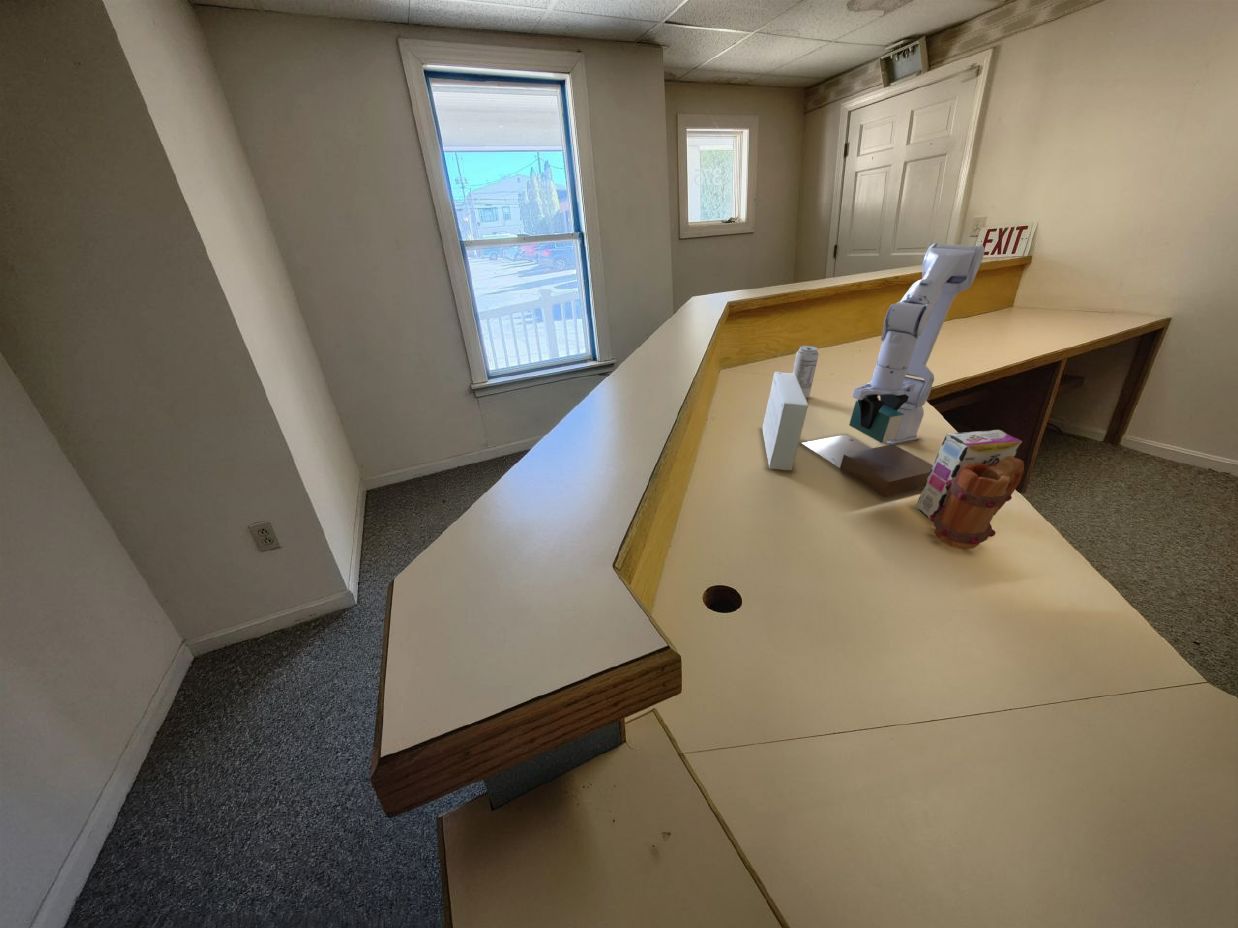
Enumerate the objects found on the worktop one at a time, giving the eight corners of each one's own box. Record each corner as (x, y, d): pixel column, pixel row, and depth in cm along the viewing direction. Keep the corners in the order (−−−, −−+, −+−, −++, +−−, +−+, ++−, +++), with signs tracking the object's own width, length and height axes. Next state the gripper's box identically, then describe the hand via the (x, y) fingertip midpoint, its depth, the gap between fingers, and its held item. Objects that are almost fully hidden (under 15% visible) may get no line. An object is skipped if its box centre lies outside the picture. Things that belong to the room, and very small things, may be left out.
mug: (959, 562, 75) (997, 485, 67) (914, 533, 81) (944, 461, 74) (1014, 539, 80) (1055, 465, 72) (967, 513, 86) (1000, 444, 79)
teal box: (862, 422, 104) (870, 398, 100) (895, 440, 96) (904, 414, 93) (848, 425, 102) (855, 400, 99) (881, 443, 95) (889, 416, 92)
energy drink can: (806, 393, 141) (816, 345, 133) (811, 400, 135) (822, 351, 128) (786, 392, 141) (795, 344, 133) (790, 400, 136) (800, 350, 128)
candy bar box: (933, 524, 84) (967, 445, 75) (913, 508, 88) (944, 432, 80) (985, 517, 85) (1024, 440, 77) (963, 502, 90) (998, 427, 81)
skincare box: (794, 472, 100) (809, 405, 92) (768, 469, 101) (781, 403, 93) (783, 430, 118) (795, 371, 110) (761, 429, 119) (771, 370, 111)
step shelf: (846, 435, 115) (850, 421, 113) (934, 485, 95) (941, 469, 93) (800, 444, 111) (804, 429, 109) (883, 498, 91) (888, 481, 89)
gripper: (880, 375, 86) (861, 438, 93) (936, 367, 90) (914, 428, 97) (852, 364, 92) (836, 424, 99) (906, 357, 96) (887, 415, 103)
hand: (873, 425), depth 98 cm, fingers closed on teal box, 4 cm apart
